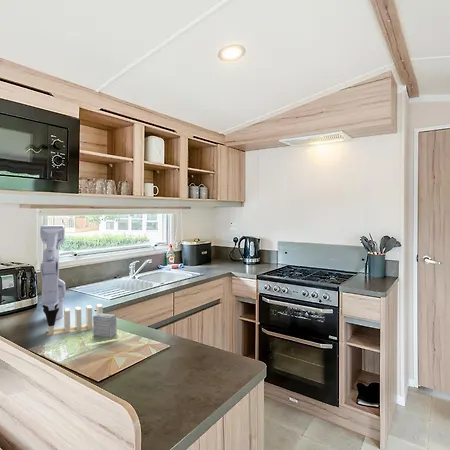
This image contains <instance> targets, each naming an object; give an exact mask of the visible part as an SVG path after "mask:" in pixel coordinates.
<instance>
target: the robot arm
mask: <svg viewBox="0 0 450 450" xmlns="http://www.w3.org/2000/svg"><path fill="white" fill-rule="evenodd" d="M65 228H66V227H65V225H64V224H61V225H60V224H58V225H55V224H54V225H53V224H52V225H50V224H49V225H47V224H46V225H45V224H44V225H43V224H42V225H41V226H40V230H39V231H40V232H39V233H40V239H41V242H42V244H45V245H46V248H45V249H44V250H43V252H42V253H43V254H42V262H41V263H40V276H41V277H40V279H41V282H42V283H41V301H39V303H38V305H39V306H40V305H41V307H42V308H43V311H42V312H43V313H44V315H45V316H43V317H44V320H45V321H46V322H47V325H48V326H54V327H55V325H56V321H57V320H61V319H64V305H63V304H64V302H63V301H64V300H65V298H66V295H67V294H66V293H67V288H66V283H65V281H64V280H62V279H60V263H59V262H60V261H59V259H60V256H59V255H60V254H59V253H60V252H59V251H60V245H61V244H63V243H64V242H65V237H66V233H65V232H66V231H65V230H66V229H65ZM48 326H47V327H48Z"/></svg>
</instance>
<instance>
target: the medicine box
mask: <svg viewBox="0 0 450 450" xmlns="http://www.w3.org/2000/svg"><path fill="white" fill-rule="evenodd" d="M92 323H93V331H92V332H93V336H94V337H101V338H103V337H104V338H112V337H114V336H115V335H117V333H118V332H117V330H118V329H117V314H112V313H111V314H110V313H103V314H102V313H100V314H97V315H96V314H95V315H92Z"/></svg>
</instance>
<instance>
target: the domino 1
mask: <svg viewBox="0 0 450 450" xmlns="http://www.w3.org/2000/svg"><path fill="white" fill-rule="evenodd" d="M47 327H48V328H47V330H48V333H49V335H50V334H54V329H55V328H54V327H55V325H54V326H47Z"/></svg>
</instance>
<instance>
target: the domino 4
mask: <svg viewBox="0 0 450 450" xmlns="http://www.w3.org/2000/svg"><path fill="white" fill-rule="evenodd" d="M92 323H93V307H92V305H91V304H88V305H85V324H86V326H87V327H88V328H92Z"/></svg>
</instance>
